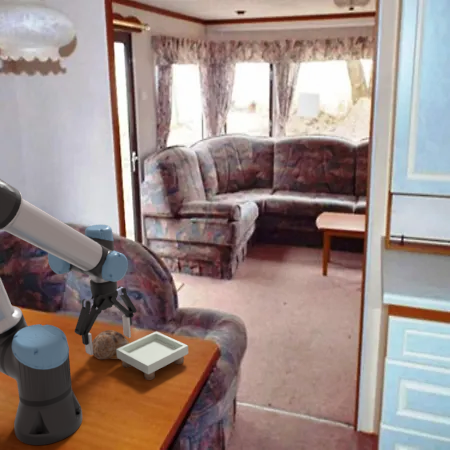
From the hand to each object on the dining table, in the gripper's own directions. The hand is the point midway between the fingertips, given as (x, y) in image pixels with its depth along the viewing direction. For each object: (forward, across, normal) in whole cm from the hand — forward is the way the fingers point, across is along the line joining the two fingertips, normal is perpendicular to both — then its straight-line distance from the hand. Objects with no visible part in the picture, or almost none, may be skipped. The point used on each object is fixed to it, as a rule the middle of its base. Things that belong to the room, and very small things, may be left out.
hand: (109, 344), depth 150 cm
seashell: (+4, 0, -1) cm, 4 cm away
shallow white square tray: (+3, +5, -14) cm, 15 cm away
